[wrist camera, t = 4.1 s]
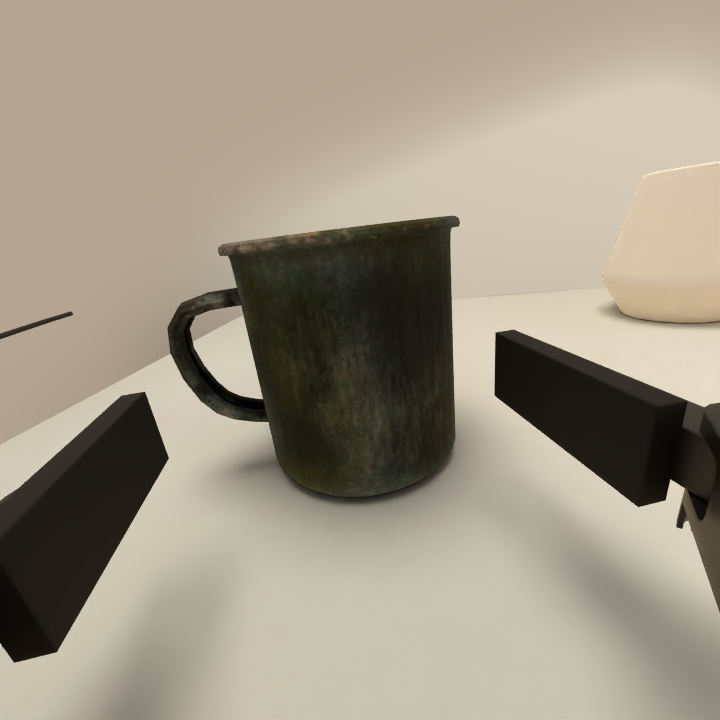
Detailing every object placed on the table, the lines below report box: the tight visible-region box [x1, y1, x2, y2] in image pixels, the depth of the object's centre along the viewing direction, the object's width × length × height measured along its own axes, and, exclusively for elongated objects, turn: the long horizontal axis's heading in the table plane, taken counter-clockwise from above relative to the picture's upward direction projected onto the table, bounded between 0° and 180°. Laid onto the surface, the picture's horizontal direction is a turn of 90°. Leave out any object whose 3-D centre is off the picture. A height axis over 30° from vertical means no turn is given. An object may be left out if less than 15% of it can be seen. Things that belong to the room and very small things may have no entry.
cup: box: [603, 161, 720, 323], centre depth 35 cm, size 13×13×14 cm
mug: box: [168, 216, 460, 497], centre depth 19 cm, size 11×15×12 cm
